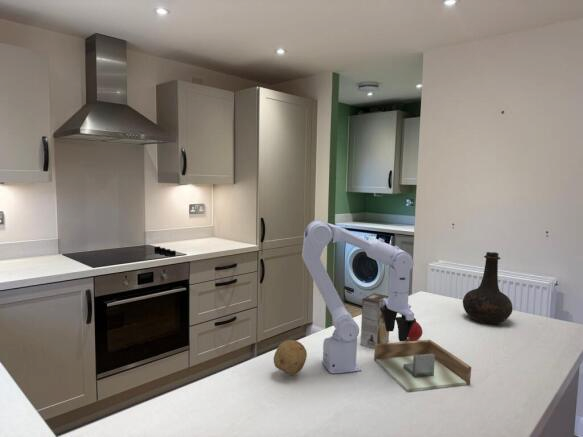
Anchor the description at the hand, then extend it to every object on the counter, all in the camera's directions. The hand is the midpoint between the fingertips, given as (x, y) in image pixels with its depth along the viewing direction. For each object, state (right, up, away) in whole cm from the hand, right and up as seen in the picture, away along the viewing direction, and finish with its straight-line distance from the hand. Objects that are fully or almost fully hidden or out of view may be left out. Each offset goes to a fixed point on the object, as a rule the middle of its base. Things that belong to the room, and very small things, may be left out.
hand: (396, 335), depth 118 cm
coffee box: (-3, -8, +18) cm, 20 cm away
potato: (-31, -9, -6) cm, 33 cm away
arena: (+6, -10, -3) cm, 12 cm away
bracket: (+5, -9, -4) cm, 11 cm away
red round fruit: (+11, -8, +20) cm, 25 cm away
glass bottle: (+48, -7, +45) cm, 66 cm away
